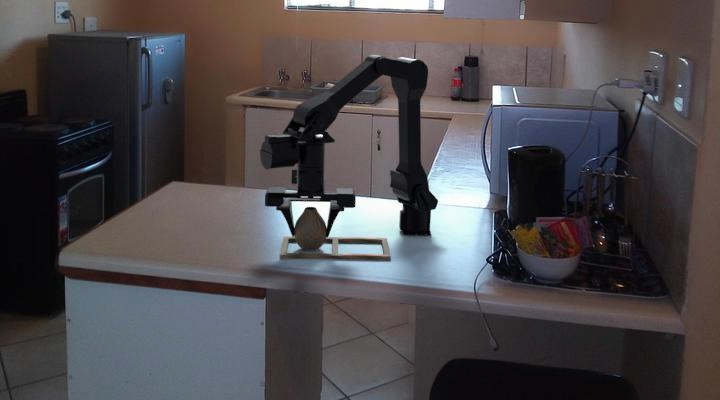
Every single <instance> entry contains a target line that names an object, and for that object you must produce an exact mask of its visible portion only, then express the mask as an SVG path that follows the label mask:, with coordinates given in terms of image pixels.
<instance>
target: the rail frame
mask: <svg viewBox="0 0 720 400" xmlns="http://www.w3.org/2000/svg"><path fill="white" fill-rule="evenodd" d="M289 242H291V243H293V242H295V243H296V240H295V237H292V236H283V237H282V242H281V248H280V253H279V259H294V260H295V259H296V260H297V259H301V260H302V259H303V260H305V259H306V260H309V259H310V260H359V261H360V260H361V261H362V260H365V261H366V260H367V261H374V260H375V261H391V260H392V259H391V251H390V247H389V243H388V242H389V241H388V238H387V237H361V236H360V237H354V236H353V237H351V236H350V237H349V236H348V237H347V236H345V237H344V236H342V237H341V236H340V237H339V236H335V237H333V236H328V237H326V240H325V242H324V243H332V253H321V252H319V253H318V252H315V253H314V252H313V253H312V252H288V248H289ZM339 243H345V244H346V243H348V244H349V243H350V244H353V243H355V244H381V247H382V252H383V254H382V253H339Z"/></svg>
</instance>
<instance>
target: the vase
mask: <svg viewBox="0 0 720 400" xmlns="http://www.w3.org/2000/svg"><path fill="white" fill-rule="evenodd" d="M326 231H327V224H326V222H325V219H324V218H323V217H322V215H321V214H320V213H319V212H318V209H317V207H315V206H307V207H304V210H303V212H302V213H301V214H300V216H298V218H297V220H296V222H295V223H294V237H295V240H296V242H295V243H296V244H297V245H298V247H299V248H300V249H301V250H304V251H310V252H311V251H317V250H319V249H320V248H322V246H323V245H324V244H325V243H326V242H325V240H326Z"/></svg>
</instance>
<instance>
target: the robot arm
mask: <svg viewBox="0 0 720 400" xmlns="http://www.w3.org/2000/svg"><path fill="white" fill-rule="evenodd" d="M382 76H387V77H389V78H390V82H391V87H392V89H393V91H394V94H395V95H396V98H397V105H398V106H397V108H398V113H397V114H398V150H399V151H398V158H399V160H398V165H397V166H396V169H390V172H389V175H390V184H389V188H391V189H392V193H393V194H394V195H395V196H396V199H397V202H398V203H400V204H402V209H401V210H400V211H399V222H398V224H399V226H398V227H399V230H400V231H401V234H402V235H403V236H432V232H431V219H432V217H431V216H432V211H433V210H436V209H437V207H438V206H437V205H438V203H439V199H438V198H437V197H436V196H435V195H434V193H432V192H431V190H430V187H429V186H430V185H429V179H428V175H427V172H426V171H425V168H424V166H423V164H422V137H421V135H422V132H421V131H422V127H421V126H422V124H421V123H422V122H421V121H422V120H421V119H422V118H421V117H422V116H421V114H422V113H421V100H422V98H423V95H424V94H425V91H426V90H427V85H428V80H429V79H428V78H429V67H428V64H426V63H425V62H424V61H423V60H421V59H415V58H411V57H402V56H401V57H397V58H396V59H391V58H387V57H386V56H382V55H377V54H370V55H368V56H367V57H365V59H364V61H362V62H361V63H360V64H359V65H357V66H356V67H355V68H354V69H352V70H351V71H350V72H349V73H348V74H345V75H344V77H343V78H342V79H340V80H339V81H338V82H337V83H335V84H334V85H333V86H332V87H330V88H329V89H328V90H326V91H325V92H323V93H321V94H318V95H314V96H313V97H310V98H307V99H306V100H305V101H303V102H300V103H299V104H298V105H297V106H296V107H295V108H294V110H293V115H292V116H293V117H292V118H291V119H290V121H289V122H288V124H287V126H286V127H285V128H284V130H283V131H282V134H275V135H273V134H266V135H264V141H263V142H262V143H261V149H259V157H260V161H261V164H262V166H263V168H264V169H265V170H275V169H286V168H291V182H290V183H291V185H295V186H296V191H294V192H289V191H286V187H284V186H283V187H282V186H281V187H279V186H278V187H276V186H274V187H273V186H271V187H270V186H269V187H268V188H267V189H266V190H265V191H266V192H265V194H264V206H265V207H269V208H270V207H271V208H273V207H274V208H275V210H276V211H280V213H281V214H282V216H283V217H284V219H285V221H286V223H287V226H288V229H289V231H290V234H291V237H294V228H295V223H294V214H293V205H292V203H293V202H307V203H309V202H310V203H311V202H315V203H316V202H317V203H321V202H322V203H323V202H324V203H329V210H328V216H327V224H326V228H327V231H326V237H330V233H331V231H332V228H333V225H334V223H335V220H336V219H337V216H338V215H339V214H340V212H344V211H345V209H353V208H356V204H357V203H356V202H357V201H356V198H357V197H356V191H355V190H354V189H353V188H344V187H343V188H340V187H339V188H338V187H337V188H336V192H325V190H326V179H325V177H326V176H325V174H326V173H325V171H326V170H325V168H326V164H325V163H326V144H333V143H335V141H336V140H335V139H334V138H333V137H332V136H331V135H330V134H329V132H328V131H327V130H328V129H329V128H330V127H331V126H332V125H333V123H334V122H335V121H336V120H337V117H338V115H339V113H340V111H342V109H343V108H344V107H345V106H346V105H347V104H349V103H350V102H351V101H353V100H354V99H355V98H356V97H357V96H359V95H360V94H361V93H362V92H363V91H365V90H366V89H367V88H368V87H369V86H371V85H372V84H373V83H374V82H376V81H377V80H379V78H380V77H382ZM301 130H302V131H301ZM294 166H296V169H293V168H294Z"/></svg>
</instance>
